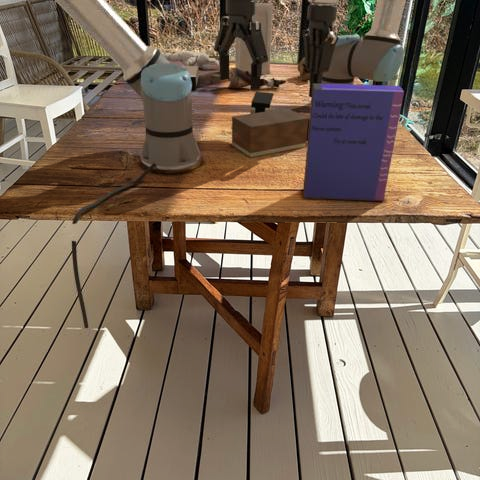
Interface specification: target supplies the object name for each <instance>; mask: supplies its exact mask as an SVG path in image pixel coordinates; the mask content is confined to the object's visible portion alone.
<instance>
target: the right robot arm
mask: <svg viewBox="0 0 480 480" xmlns="http://www.w3.org/2000/svg"><path fill="white" fill-rule="evenodd" d="M406 1H407V0H377V1H376V6H375V11H374V15H373V19H372V23H371V26H370V27H371V28H370V29H369V31H368V32H366V33H365V34H364V37H363V40H361V36H360V35H359V34H344V35H342V34H341V35H335V34H334V26H333V23H334V22H335V21H336V20H337V13H338V6H337V3H338V2H339V0H307V2H308V3H310V4H308V5H307V15H306V20H307V21H309V24H308V28H307V29H305V30H302V31H301V32H302V38H303V46H304V48H303V49H304V57H305V67H306V68H308V69H309V71H310V79H308V80H309V88H308V89H309V90H308V97H309V98H312V87H313V84H348V85H355V84H354V83H355V79H356V78H357V79H362V80H369V81H373V82H384V83H386V82H389V81H391V80H393V79H394V77H395V76H396V75H397V73H398V72H399V71H400V68H401V66H402V63H403V60H404V56H405V55H404V54H405V49H404V47H403V46H402V45H401V41H402V40H401V37H400V36H399V29H400V26H401V21H402V19H403V18H402V17H403V13H404V10H405V5H406ZM309 63H310V64H309Z"/></svg>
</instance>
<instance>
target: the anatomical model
mask: <svg viewBox="0 0 480 480" xmlns="http://www.w3.org/2000/svg"><path fill="white" fill-rule="evenodd" d="M309 64H310V63H309ZM297 71H298V72H299V76H300V77H301V79H302V81H306V82H308V80H310V71H309V69H308V68H306V67H305V56H304V57H303V58H301V60H300V61H299V62H298V64H297Z"/></svg>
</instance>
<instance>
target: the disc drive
mask: <svg viewBox="0 0 480 480" xmlns="http://www.w3.org/2000/svg"><path fill="white" fill-rule="evenodd" d="M181 66H182V67H184V68H186V69H187V70H188V71H189V73H190V78H191V82H192V89H191V91H197V85H198V82H199V76H200V75H199V67H198V66H197V65H189V66H184V65H181Z"/></svg>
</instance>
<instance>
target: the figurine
mask: <svg viewBox="0 0 480 480" xmlns="http://www.w3.org/2000/svg"><path fill="white" fill-rule="evenodd" d="M230 69H231V72H230V73H231V74H230V76H229V79H227V81H229V84H228V88H229V89H241V88H247V87H249V86H251V73H250V72H249V71H245V72H244V71H242V70H240V69H237V68H235V67H232V66H231V67H230ZM215 78H216V79H220V74H213V73H211V74H210V78H209V85H212V84H213V83H214V79H215ZM286 83H287V80H285V79H275V78H274V77H272V78H265V77H262V78H260V88H262V87H268V88H271V89H273V88H280V86H281V85H284V84H286Z"/></svg>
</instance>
